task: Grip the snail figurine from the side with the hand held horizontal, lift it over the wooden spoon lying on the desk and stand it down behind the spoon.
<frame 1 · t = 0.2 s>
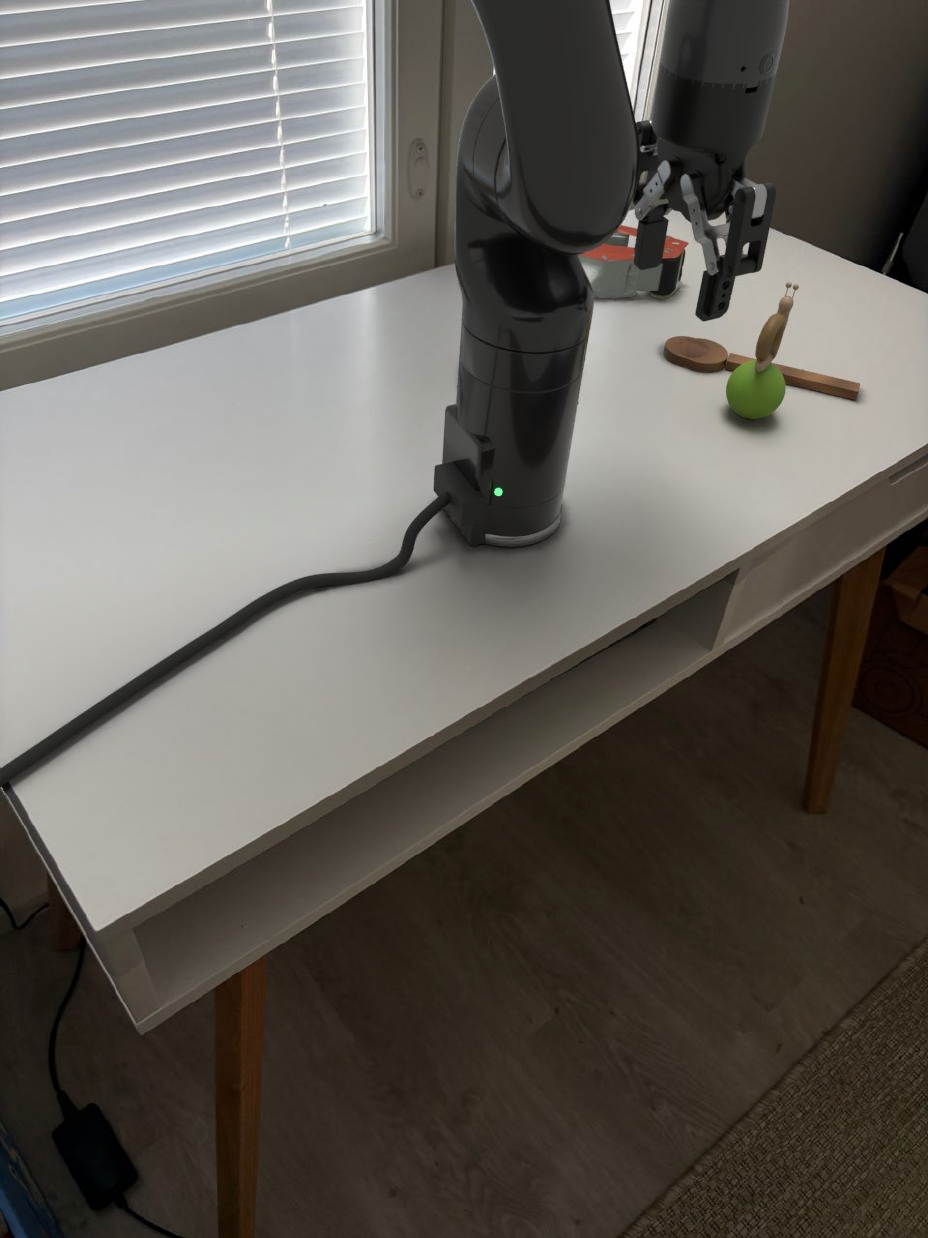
hand: (677, 291, 77), 17 cm above the table, tool pointing down, fingers open, 8 cm apart
tape dispenser: (597, 292, 115), on the table
snail figurine: (749, 413, 98), on the table
spoon: (762, 373, 103), on the table
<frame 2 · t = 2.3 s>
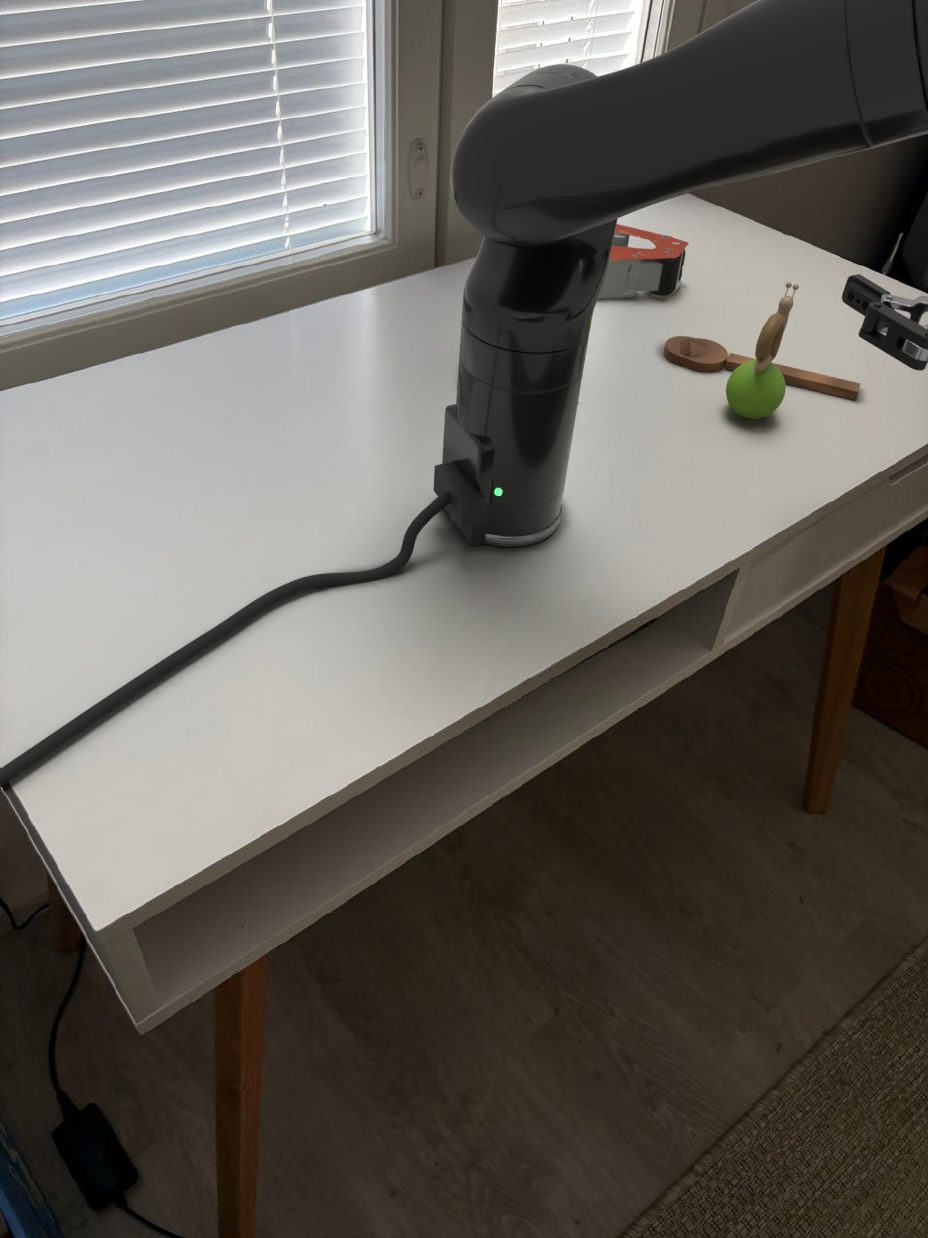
hand: (889, 277, 79), 18 cm above the table, tool horizontal, fingers open, 8 cm apart
nothing on the table moved.
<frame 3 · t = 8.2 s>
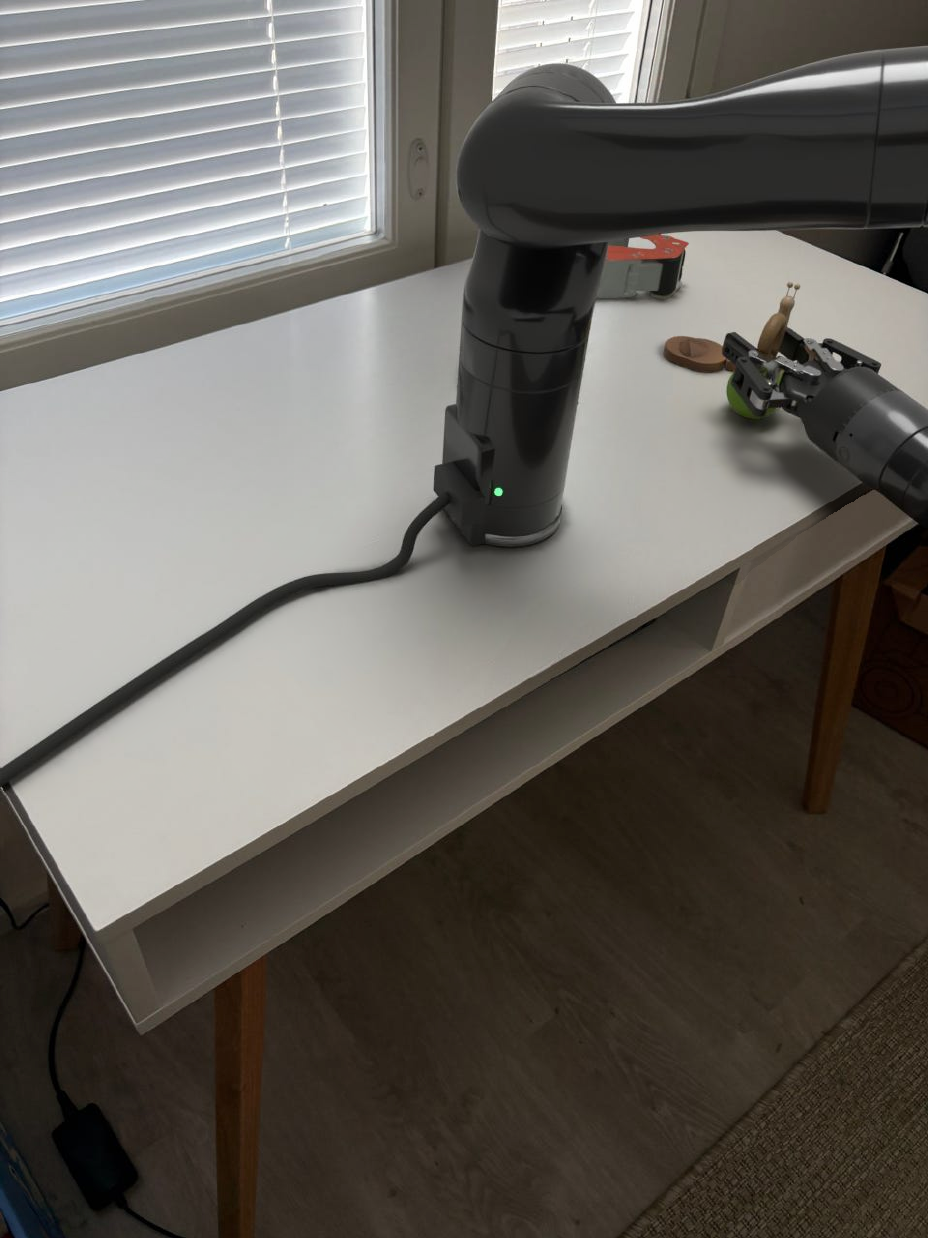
hand: (750, 336, 95), 7 cm above the table, tool horizontal, fingers closed on snail figurine, 4 cm apart
snail figurine: (749, 413, 98), on the table, touching gripper
everything else where it was.
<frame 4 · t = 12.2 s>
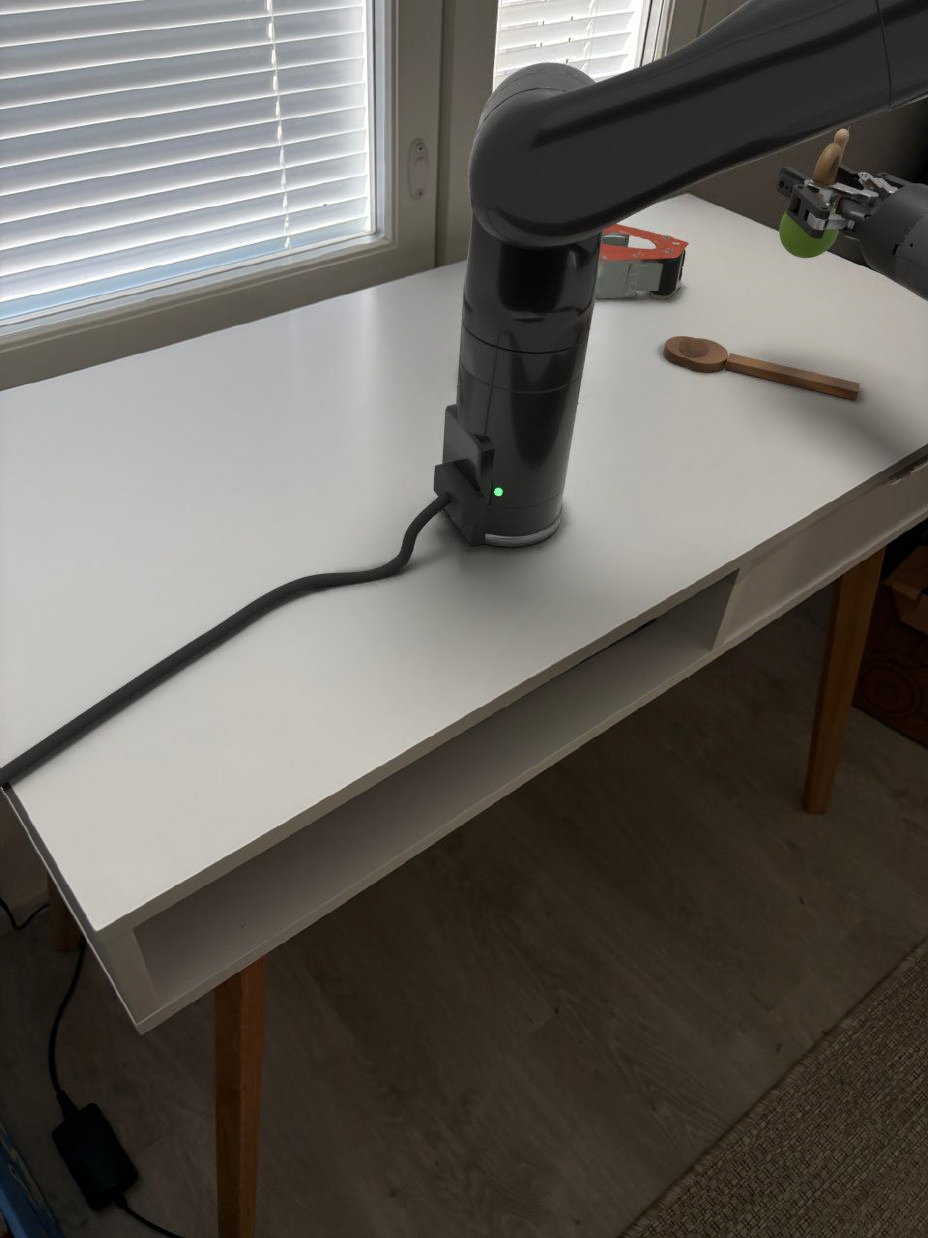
hand: (803, 174, 95), 18 cm above the table, tool horizontal, fingers closed on snail figurine, 4 cm apart
snail figurine: (801, 255, 98), point 11 cm above the table, touching gripper
everything else where it was.
when the fingers open (7 cm above the table, at t = 16.3 s): snail figurine moves 2 cm, on the table.
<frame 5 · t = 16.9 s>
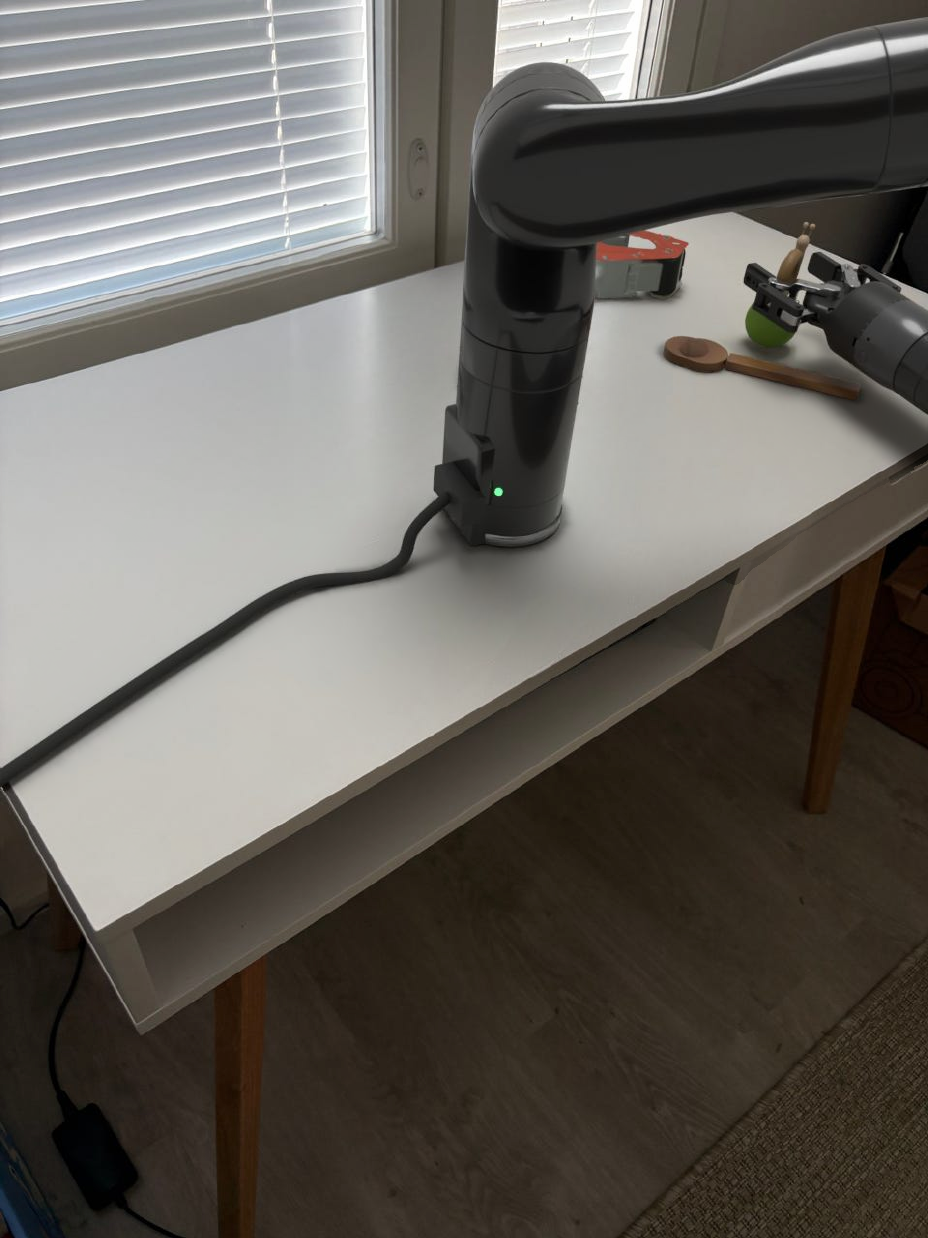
hand: (780, 265, 105), 7 cm above the table, tool horizontal, fingers open, 8 cm apart
snail figurine: (764, 344, 108), on the table, touching gripper
everything else where it was.
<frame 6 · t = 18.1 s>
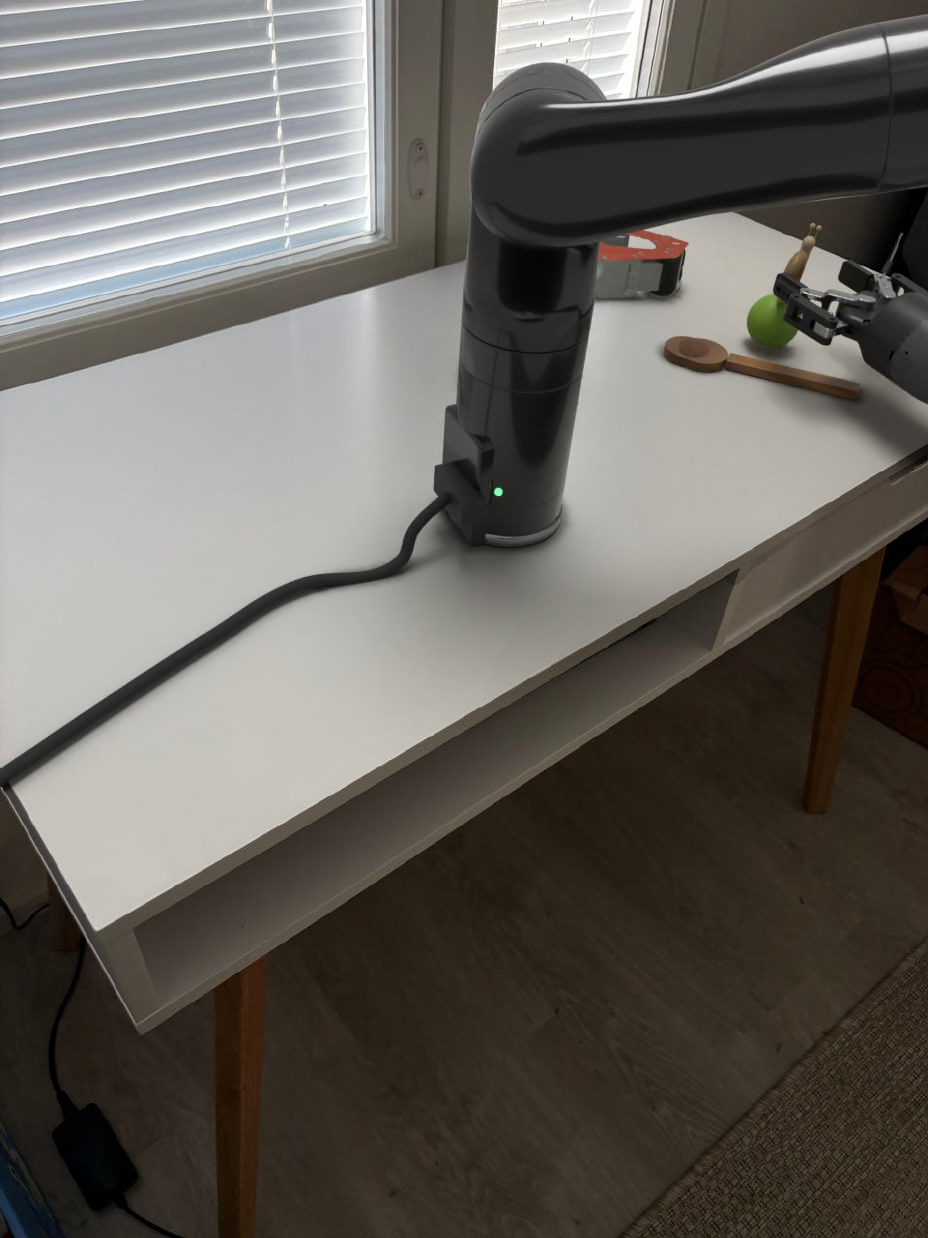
hand: (810, 275, 102), 8 cm above the table, tool horizontal, fingers open, 8 cm apart
snail figurine: (764, 343, 108), on the table
everything else where it was.
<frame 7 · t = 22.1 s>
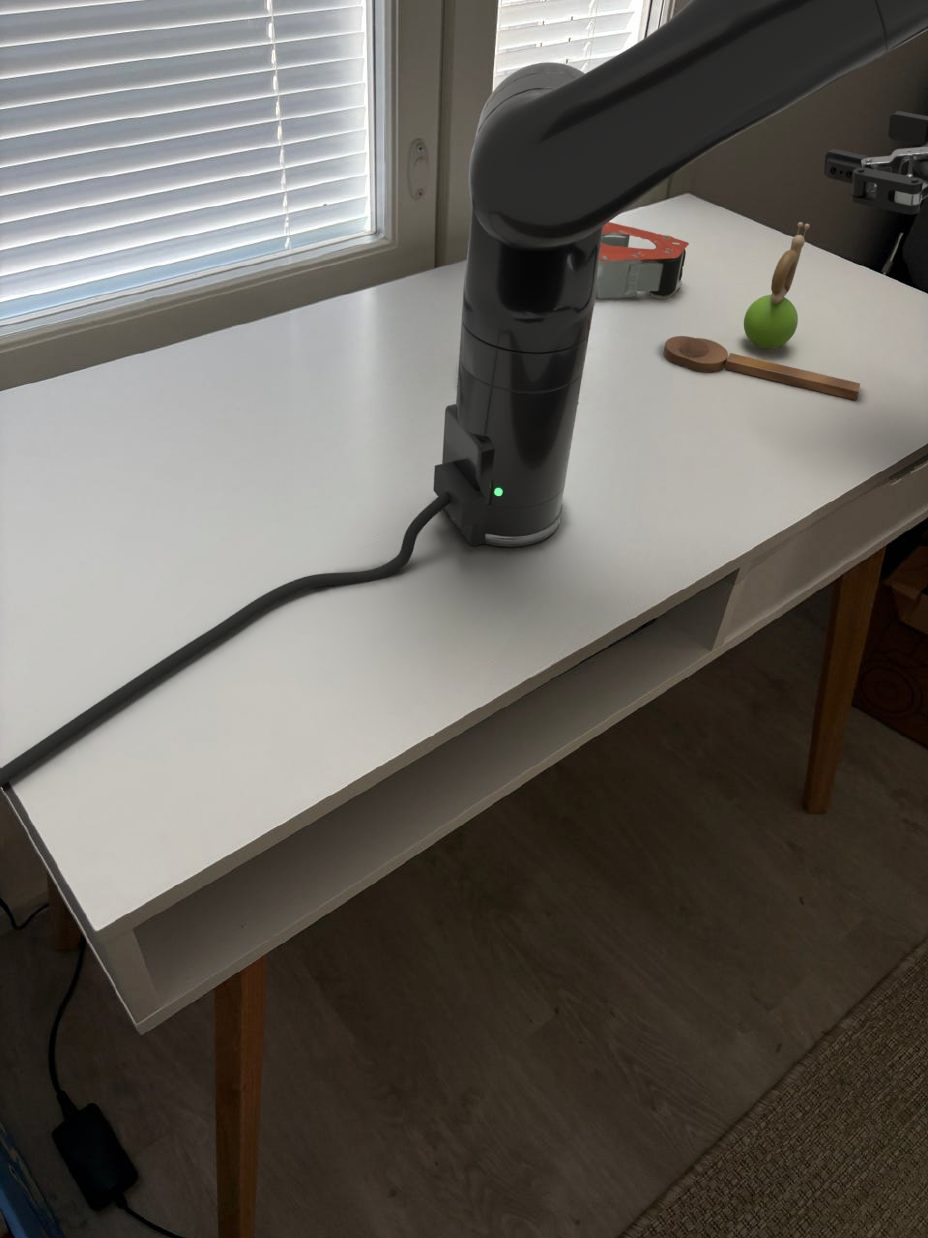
hand: (859, 143, 88), 23 cm above the table, tool horizontal, fingers open, 8 cm apart
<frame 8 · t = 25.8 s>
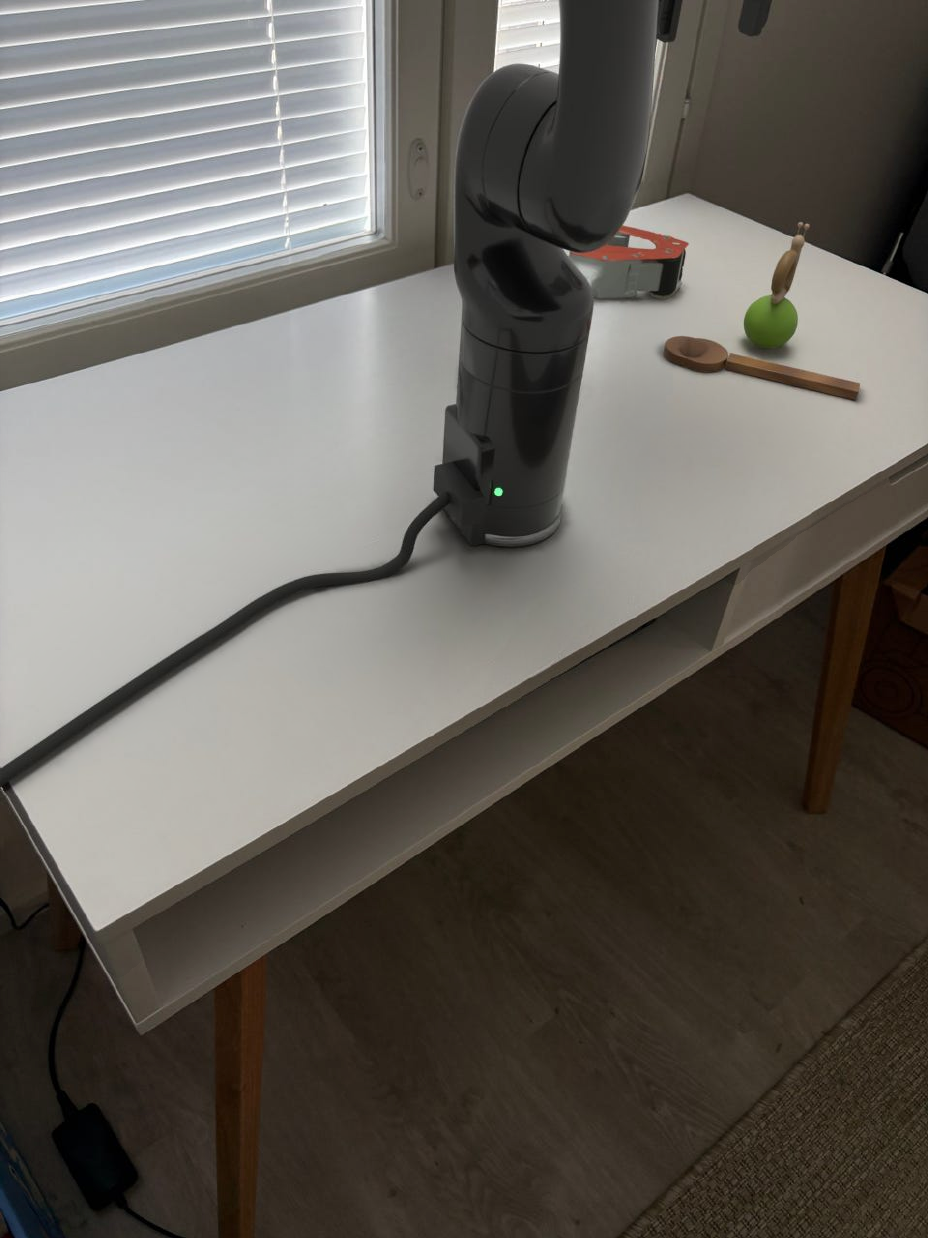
hand: (706, 36, 82), 30 cm above the table, tool pointing down, fingers open, 8 cm apart
nothing on the table moved.
at the end: snail figurine 2.1 cm from the target spot on the table beside the spoon, on the table; snail figurine tilted 0°; the gripper is holding nothing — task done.
